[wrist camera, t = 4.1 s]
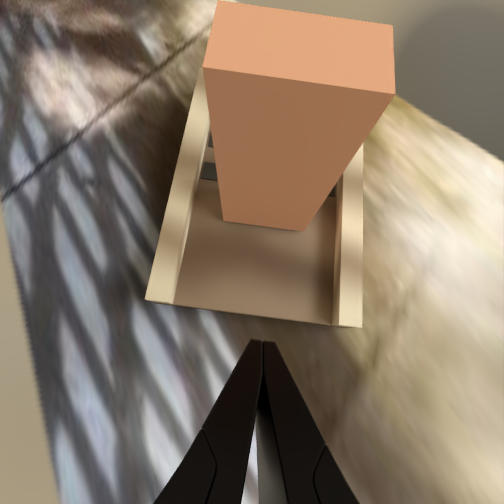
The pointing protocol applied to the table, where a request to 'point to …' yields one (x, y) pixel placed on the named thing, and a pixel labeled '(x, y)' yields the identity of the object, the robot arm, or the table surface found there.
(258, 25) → the tall block
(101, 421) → the table surface
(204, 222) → the open-ended rail tray
